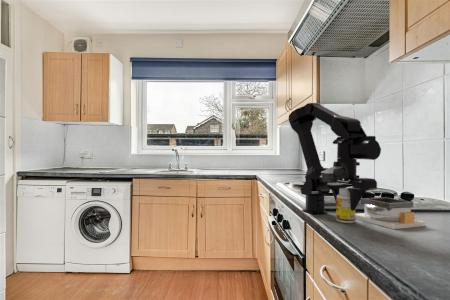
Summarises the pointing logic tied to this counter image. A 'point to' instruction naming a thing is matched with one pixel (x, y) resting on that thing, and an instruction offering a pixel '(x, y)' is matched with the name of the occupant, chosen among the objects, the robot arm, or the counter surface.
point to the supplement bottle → (344, 207)
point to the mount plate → (390, 224)
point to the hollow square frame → (388, 210)
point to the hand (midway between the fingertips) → (345, 208)
